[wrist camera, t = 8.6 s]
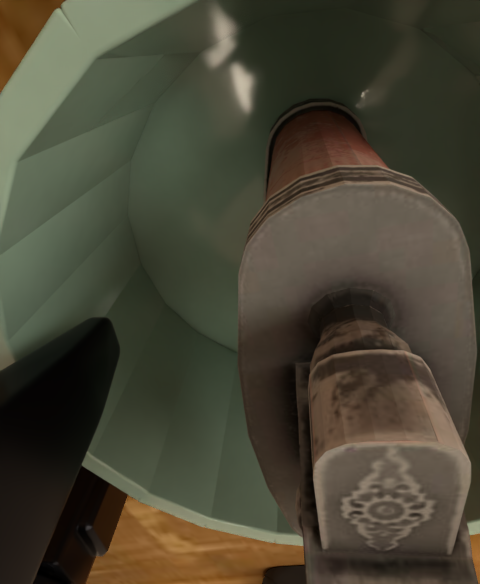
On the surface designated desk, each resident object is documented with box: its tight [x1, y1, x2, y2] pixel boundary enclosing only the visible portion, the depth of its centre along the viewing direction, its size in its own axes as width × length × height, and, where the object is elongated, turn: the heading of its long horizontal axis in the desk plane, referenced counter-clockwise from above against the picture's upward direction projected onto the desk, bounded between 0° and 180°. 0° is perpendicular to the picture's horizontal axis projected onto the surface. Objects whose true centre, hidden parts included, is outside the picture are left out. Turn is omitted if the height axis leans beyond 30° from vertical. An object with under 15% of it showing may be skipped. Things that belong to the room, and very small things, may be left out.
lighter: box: [237, 98, 478, 584], centre depth 8 cm, size 8×3×10 cm, turn 10°
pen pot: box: [0, 0, 480, 546], centre depth 10 cm, size 13×13×7 cm
